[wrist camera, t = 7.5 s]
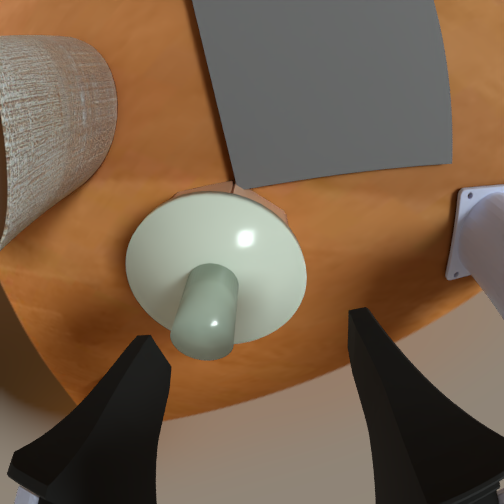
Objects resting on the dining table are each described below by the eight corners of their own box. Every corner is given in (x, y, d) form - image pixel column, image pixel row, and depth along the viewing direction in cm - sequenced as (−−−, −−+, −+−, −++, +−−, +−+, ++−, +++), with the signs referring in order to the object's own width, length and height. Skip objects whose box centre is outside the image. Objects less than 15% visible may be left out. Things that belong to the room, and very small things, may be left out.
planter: (134, 29, 12) (22, 2, 4) (119, 195, 18) (35, 287, 9) (11, 52, 11) (-90, 71, 3) (11, 184, 17) (-71, 246, 9)
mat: (416, -36, 8) (420, -38, 8) (447, 160, 15) (452, 163, 15) (186, -28, 10) (184, -31, 9) (238, 187, 17) (237, 190, 17)
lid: (299, 179, 13) (318, 226, 9) (306, 328, 18) (314, 390, 14) (107, 207, 14) (60, 257, 10) (161, 337, 19) (145, 393, 15)
